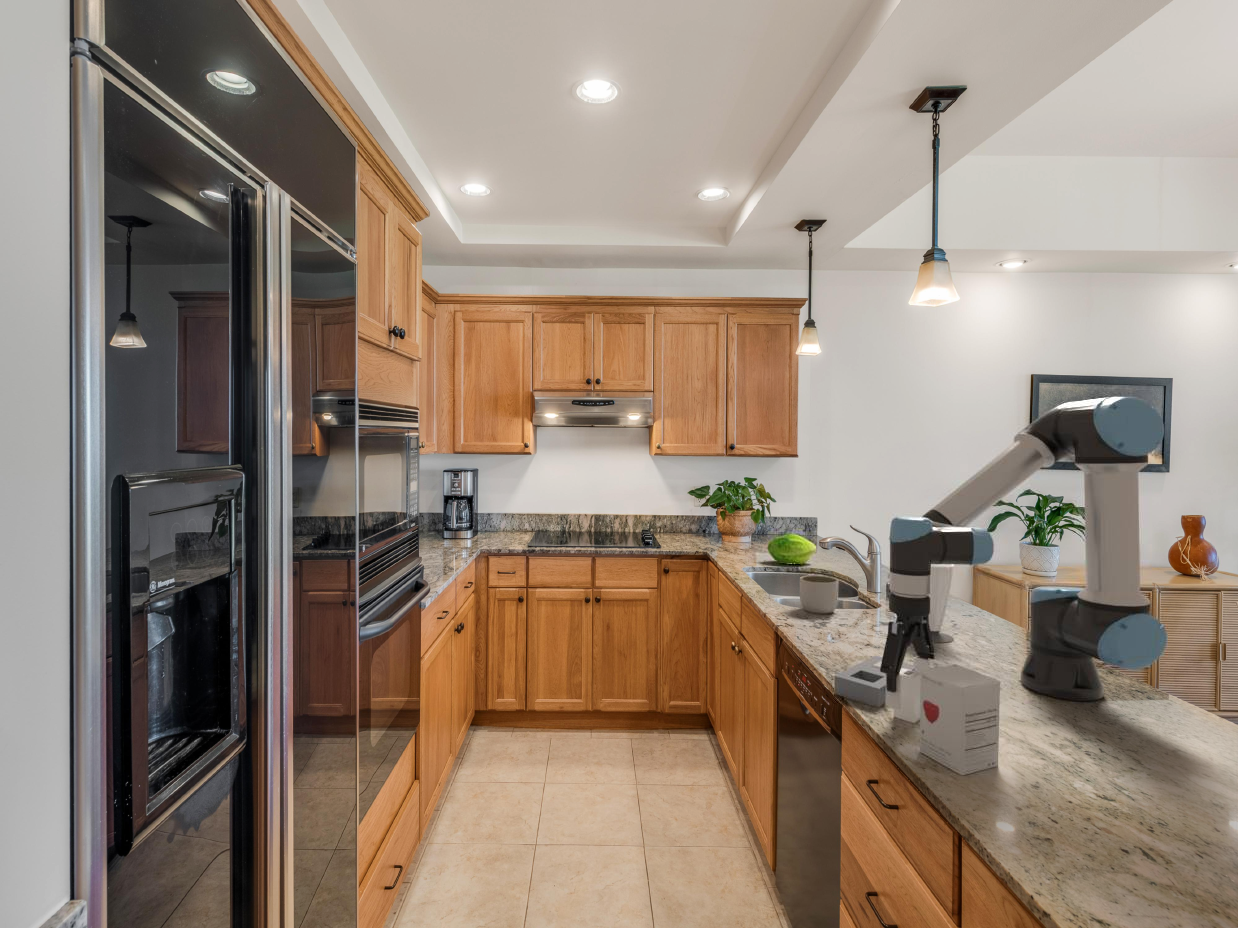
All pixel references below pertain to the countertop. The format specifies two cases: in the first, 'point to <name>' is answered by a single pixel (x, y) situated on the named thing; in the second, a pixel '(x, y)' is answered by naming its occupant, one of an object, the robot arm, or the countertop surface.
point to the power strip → (865, 682)
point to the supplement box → (959, 718)
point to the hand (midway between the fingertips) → (907, 697)
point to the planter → (818, 594)
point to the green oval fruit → (791, 549)
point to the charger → (909, 696)
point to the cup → (939, 600)
